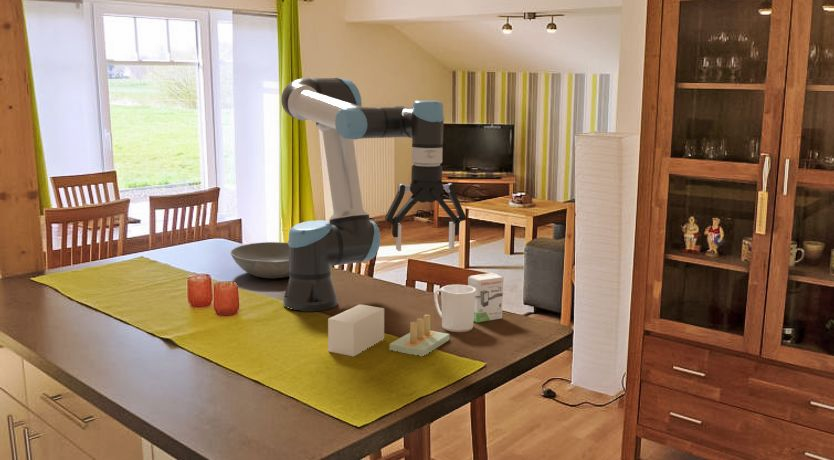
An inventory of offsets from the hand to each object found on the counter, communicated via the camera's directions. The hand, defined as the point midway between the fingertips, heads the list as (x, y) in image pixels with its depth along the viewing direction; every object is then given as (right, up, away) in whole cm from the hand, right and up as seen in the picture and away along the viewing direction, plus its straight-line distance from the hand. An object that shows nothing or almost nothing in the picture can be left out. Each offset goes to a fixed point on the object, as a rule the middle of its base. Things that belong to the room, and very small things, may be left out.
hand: (425, 249), depth 197 cm
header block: (-1, -23, -6) cm, 24 cm away
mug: (+8, -21, +8) cm, 23 cm away
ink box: (+16, -19, +16) cm, 30 cm away
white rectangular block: (-17, -23, -7) cm, 29 cm away
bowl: (-49, -10, +60) cm, 77 cm away
